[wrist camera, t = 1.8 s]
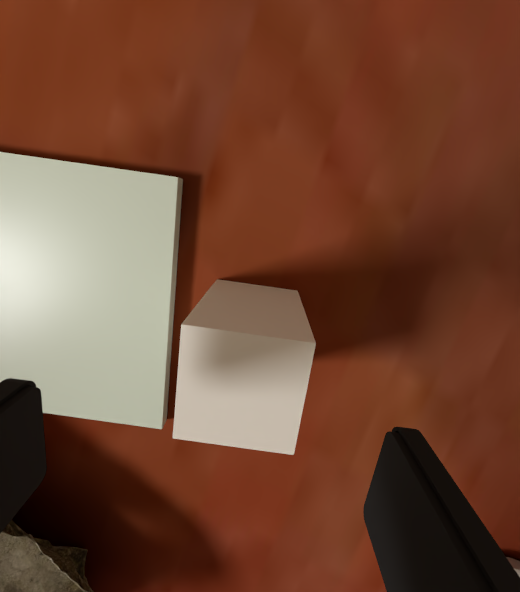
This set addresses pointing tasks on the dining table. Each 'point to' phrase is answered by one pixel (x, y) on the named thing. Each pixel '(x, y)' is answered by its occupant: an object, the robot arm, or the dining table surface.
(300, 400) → the cream block
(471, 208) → the dining table surface
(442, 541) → the robot arm
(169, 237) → the sage mat
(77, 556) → the hollow geode rock
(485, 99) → the dining table surface
